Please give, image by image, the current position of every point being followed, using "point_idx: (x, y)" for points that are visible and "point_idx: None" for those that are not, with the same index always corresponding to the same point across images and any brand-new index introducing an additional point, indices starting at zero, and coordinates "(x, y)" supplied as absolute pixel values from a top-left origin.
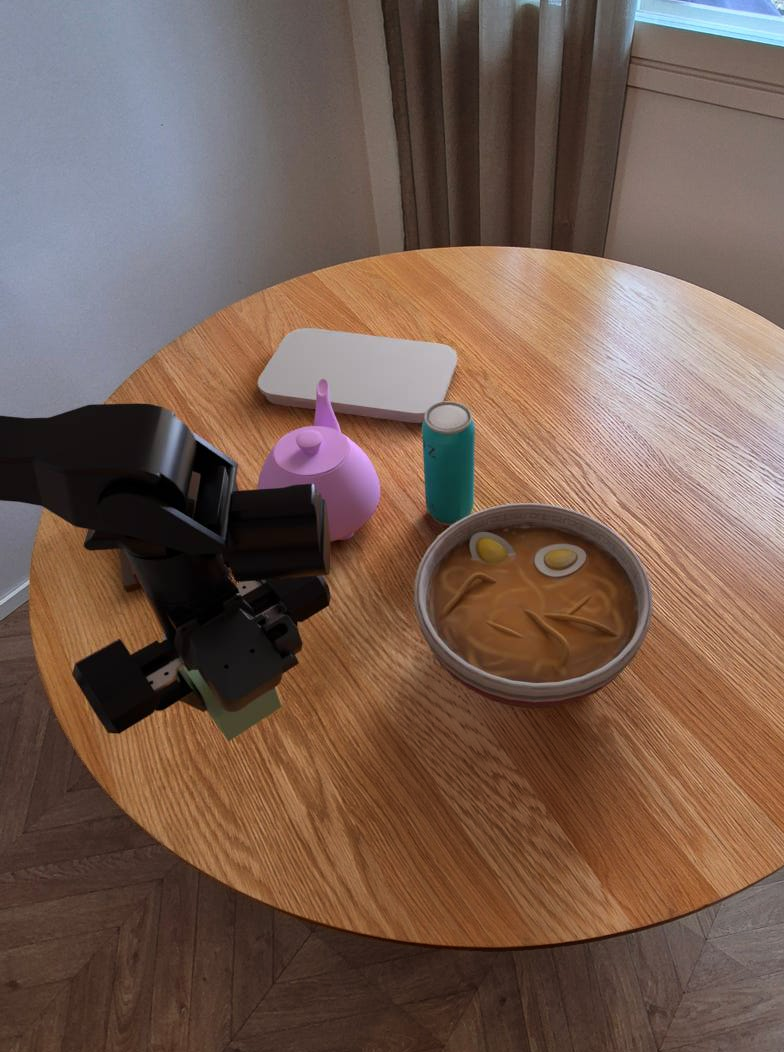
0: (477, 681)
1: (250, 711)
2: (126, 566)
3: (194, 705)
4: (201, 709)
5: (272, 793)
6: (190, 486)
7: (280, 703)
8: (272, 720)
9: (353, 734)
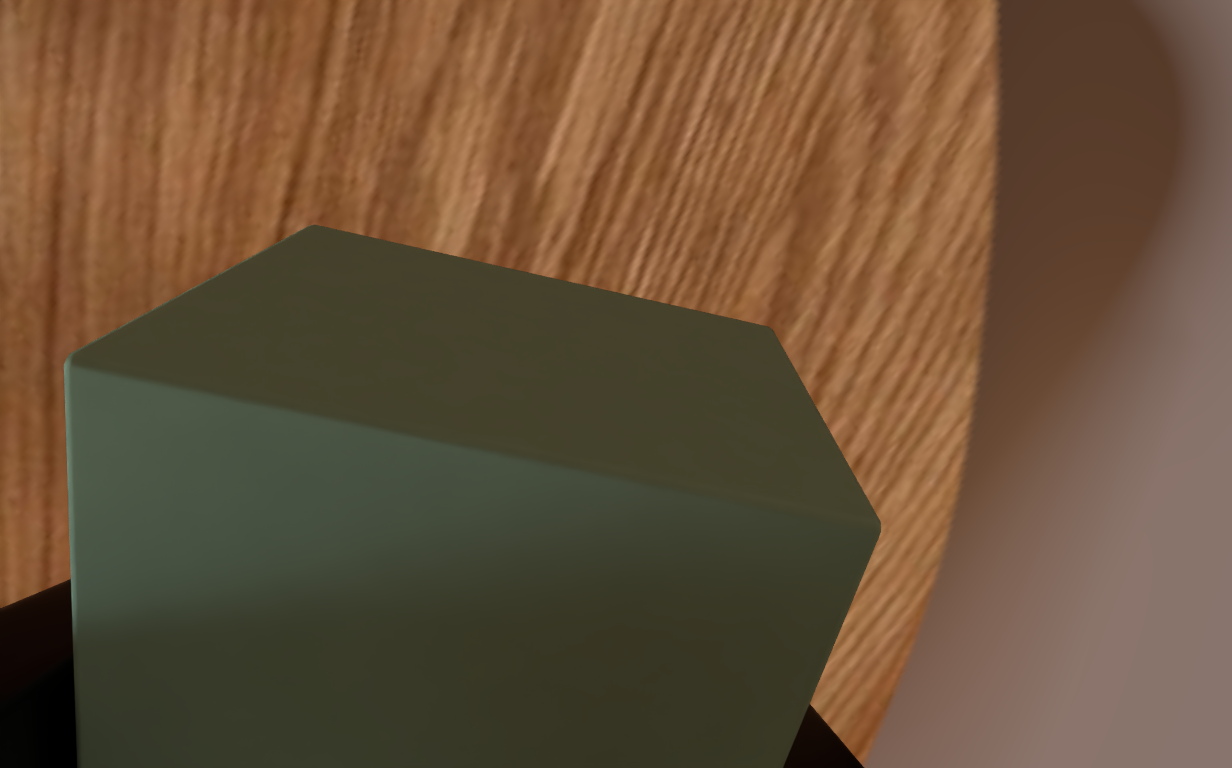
0: None
1: (527, 342)
2: None
3: (847, 764)
4: None
5: (647, 119)
6: None
7: (291, 240)
8: None
9: (223, 22)
